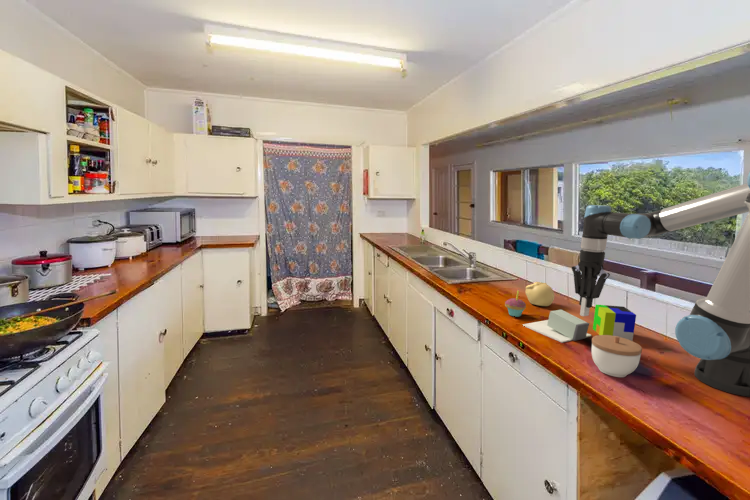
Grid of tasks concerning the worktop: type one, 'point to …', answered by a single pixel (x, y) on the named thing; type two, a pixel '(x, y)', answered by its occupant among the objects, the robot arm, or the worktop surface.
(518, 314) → the cupcake
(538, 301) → the sculpture
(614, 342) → the lidded bowl
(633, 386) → the worktop surface
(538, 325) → the board
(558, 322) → the sage block
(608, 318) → the puzzle toy
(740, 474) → the worktop surface
